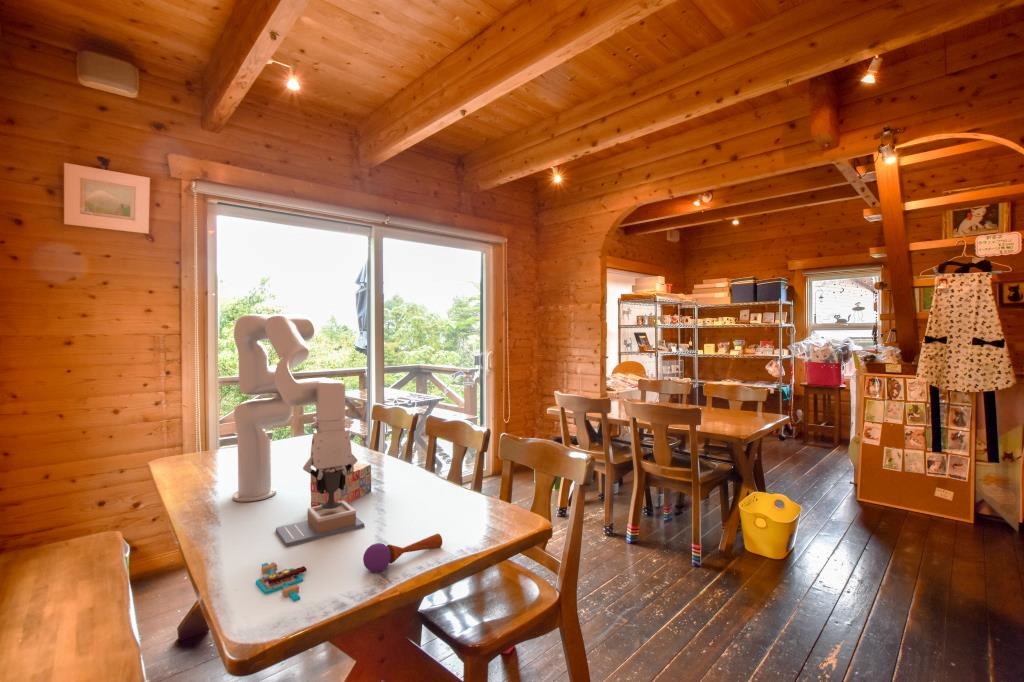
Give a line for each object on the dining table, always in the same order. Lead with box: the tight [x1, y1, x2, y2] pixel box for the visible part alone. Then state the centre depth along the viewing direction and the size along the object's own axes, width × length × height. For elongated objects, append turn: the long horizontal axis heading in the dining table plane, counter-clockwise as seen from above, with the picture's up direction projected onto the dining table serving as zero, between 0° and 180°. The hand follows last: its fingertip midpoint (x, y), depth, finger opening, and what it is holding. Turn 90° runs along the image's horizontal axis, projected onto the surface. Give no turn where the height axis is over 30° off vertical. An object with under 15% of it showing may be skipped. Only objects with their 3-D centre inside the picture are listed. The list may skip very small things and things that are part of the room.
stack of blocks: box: [309, 462, 372, 508], centre depth 153 cm, size 21×6×12 cm, turn 160°
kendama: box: [362, 533, 443, 573], centre depth 113 cm, size 6×6×20 cm
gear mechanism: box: [255, 561, 307, 603], centre depth 103 cm, size 20×5×9 cm
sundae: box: [321, 466, 344, 509], centre depth 132 cm, size 7×7×15 cm
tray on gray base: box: [275, 500, 365, 548], centre depth 130 cm, size 12×20×5 cm, turn 128°
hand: (331, 489), depth 132 cm, fingers closed on sundae, 4 cm apart
